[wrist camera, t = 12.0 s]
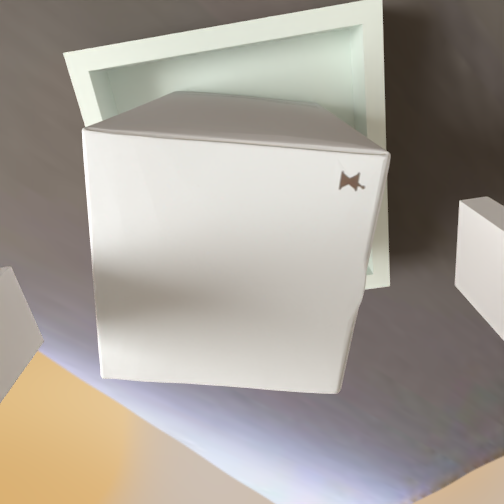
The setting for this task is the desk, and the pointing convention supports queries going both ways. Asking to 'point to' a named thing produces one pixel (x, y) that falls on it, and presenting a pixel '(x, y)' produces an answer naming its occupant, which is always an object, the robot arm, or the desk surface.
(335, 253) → the supplement box
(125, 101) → the tote
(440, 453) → the desk surface
